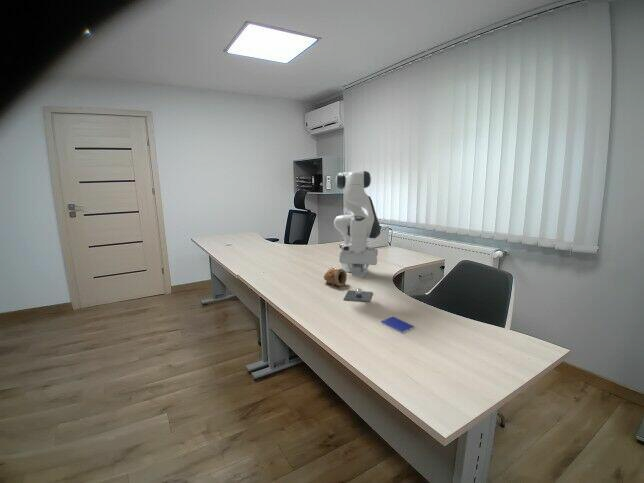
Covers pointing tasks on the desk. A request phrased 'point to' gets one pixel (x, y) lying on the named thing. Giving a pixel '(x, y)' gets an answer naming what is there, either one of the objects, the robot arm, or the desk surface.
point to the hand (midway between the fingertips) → (358, 271)
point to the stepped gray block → (358, 270)
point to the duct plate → (354, 298)
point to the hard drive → (397, 324)
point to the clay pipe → (336, 277)
